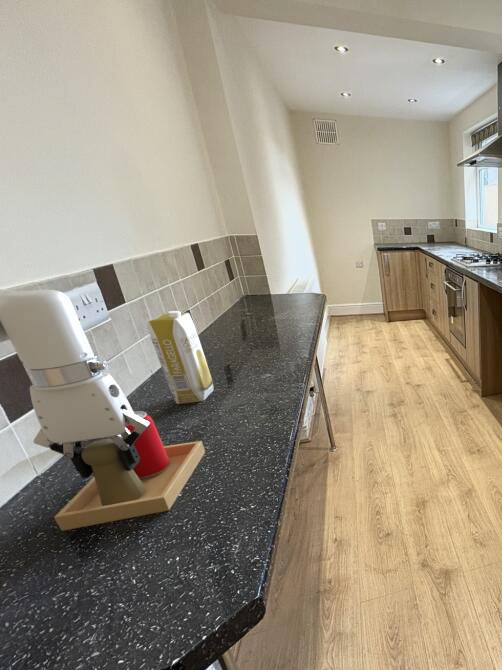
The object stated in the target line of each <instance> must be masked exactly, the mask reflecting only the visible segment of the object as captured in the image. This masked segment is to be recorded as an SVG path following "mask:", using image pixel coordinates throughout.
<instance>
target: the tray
mask: <svg viewBox="0 0 502 670" xmlns="http://www.w3.org/2000/svg"><path fill="white" fill-rule="evenodd" d="M163 446H164V449H165V451H166V454H167V456H168V458H169V461H170V464H169V466H168V467H167V468H166V469H165V470H164V471H163V472H161V473H159V474H157V475H155V476H152V477H149V478H142V479H141V478H139V479H140V480H141V482H142V483H143V485H144V486H145V488H146V492H145V493H144V494H143V495H142V496H141V497H140V498H138V499H136V500H134V501H128V502H123V503H117V504H112V505H106V506H102V504H101V500H100V496H99V493H98V489H97V485H96V481H95V478H94V476H92V478H91V479H90V480H89V481H88V482H87V483H86V484H85V485H84V486H83V487H82V488H81V489H80V490H79V491H78V492H77V494H75V495H74V496H73V497H72V498H71V499H70V501H69V502H67V504H65V506H64V507H63V508H62V509H60V511H58V513H57V514H55V516H54V517H53V518H54V521H55V522H56V524H57V525H58V527H59V529H60V530H61V532H63V531H69V530H74V529H80V528H84V527H90V526H94V525H99V524H105V523H110V522H114V521H121V520H125V519H131V518H136V517H142V516H146V515H152V514H157V513H158V514H159V513H162V512H168V511H170V510H171V508H172V506H173V505H174V504H175V502H176V500H177V499H178V497H179V495H180V494H181V492H182V491H183V489H184V487H185V485H186V484H187V483H188V481H189V479H190V478H191V476H192V475H193V473H194V471H195V470H196V468H197V466H198V465H199V463H200V461H202V459H203V456H204V455H205V453H206V449H205V447H204V444H203V441H202V440H198V441H190V442H184V443H178V444H170V445H163Z"/></svg>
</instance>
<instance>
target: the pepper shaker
mask: <svg viewBox="0 0 502 670" xmlns="http://www.w3.org/2000/svg"><path fill="white" fill-rule="evenodd" d="M83 448H84V449H83V450H82V453H81V454H82V459H83V461H84V462H85V463H86V464H88V465H91V466H92V470H93V473H92V474H93V477H94V478H95V481H96V485H97V489H98V493H99V496H100V500H101V504H102V506H106V505H112V504H117V503H123V502H128V501H134V500H136V499H138V498H140V497H141V496H142V495H143V494H144V493H145V492H146V488H145V486H144V485H143V483H142V482H141V480H140V479H139V477H138V476H137V475H136V473H135V472H134V470H133V469H132V470H131V471H127V470H125V468H124V466H123V464H122V462H121V459H120V457H119V455H118V451H119V450H120V448H119V447H118V446H117V445H116V444H115V443H114V442H113V441H112V440H111V439H110V438H103V439H100V440H97V441H94V442H92V443H89V444H88V445H86V446H85V447H83Z"/></svg>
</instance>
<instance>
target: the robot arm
mask: <svg viewBox="0 0 502 670" xmlns="http://www.w3.org/2000/svg"><path fill="white" fill-rule="evenodd" d="M80 321H81V320H80V319H79V317H78V315H77V312H76V309H75V308H74V305H73V303H72V301H71V299H70V298H69V297H68V296H67V294H65V293H64V292H62V291H59V290H56V289H36V290H35V289H33V290H23V291H19V290H11V289H3V288H2V289H1V288H0V343H3V342H6V341H10V342H11V345H12V347H13V349H14V350H15V353H16V354H17V356H18V359H19V360H20V362H21V364H22V366H23V368H24V370H25V372H26V374H27V376H28V378H29V380H30V382H31V384H32V385H30V386H29V392H30V399H31V403H32V407H33V410H34V414H35V416H36V419H37V421H38V423H39V426H40V429H39V431H38V432H37V434H36V436H35V437H34V439H33V443H34V444H35V445H38V446H41V447H44V448H49V449H50V450H51V451H54V452H56V453H58V454H61V455H63V458H65V459H68V460H69V459H70V461H71V462H72V464H73V466H74V468H75V471H77V472H78V473H79V475H80V477H81V478H82V479H86V478H89V477H90V476H91V475H92V474H93V470H92V466H91V465H88V464H86V463H85V462H84V461H83V459H82V454H81V453H82V450H83V449H84V448H85V447H84V441H90V440H99V439H106V438H108V439H111V440H112V441H113V442H114V443H115V444H116V445H117V446H118V447H119V448H120V450H119V451H118V455H119V457H120V459H121V462H122V464H123V466H124V468H125V470H127V471H131V470H132V469H133V468H134V467H135V466H136V465H137V464H138V462H139V460H140V457H139V455H138V452H137V450H136V448H135V445H134V442H135V441H136V440H137V439H138V437H139V436H140V435H141V434H142V433H143V432H144V431H145V430H146V429H147V428H148V427H149V426H150V423H149V422H148V421H146V420H144V419H142V418H140V417H139V416H137V415H135V414H134V412H135V411H134V410H133V408H132V406H131V404H130V402H129V400H128V398H127V397H126V395H125V393H124V392H123V390H122V389H121V387H120V385H119V384H118V383H117V381H116V380H115V378H113V376H112V375H111V374H110V373H109V372H103V371H106V370H109V368H110V365H109V362H108V361H106V360H104V361H101V360H99V359H98V358H97V357H98V356H95V354H94V351H93V349H92V347H91V345H90V343H89V340H88V337H87V335H86V333H85V331H84V328H83V327H82V324H81V322H80ZM127 425H132V426H134V427H135V429H134V430H133V431H132V432H131V433H130V432H129V431H128V429H127V428H126V427H125V426H127Z"/></svg>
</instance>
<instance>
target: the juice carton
mask: <svg viewBox="0 0 502 670" xmlns="http://www.w3.org/2000/svg"><path fill="white" fill-rule="evenodd" d="M146 326H147V329H148V334H149V336H150V339H151V342H152V345H153V348H154V350H155V353H156V356H157V358H158V361H159V364H160V366H161V370H162V372H163V375H164V378H165V381H166V383H167V386H168V389H169V391H170V393H171V395H172V397H173V400H174V401H175V403H176V404H177V405H181V404H182V405H183V404H193V403H202V402H205V400H206V399H207V398H208V397H209V396H210V395H211V394H212V393H213V392H214V390H215V389H214V382H213V378H212V375H211V372H210V369H209V365H208V363H207V359H206V356H205V354H204V353H205V352H204V350H203V347H202V344H201V341H200V338H199V335H198V332H197V329H196V325H195V323H194V321H193V318H192V317H191V314H190V312H182V311H180V310H170V311H167V313H161V314H160V315H158V316H157V317H155V318H153V319H149V320H147V321H146Z"/></svg>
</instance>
